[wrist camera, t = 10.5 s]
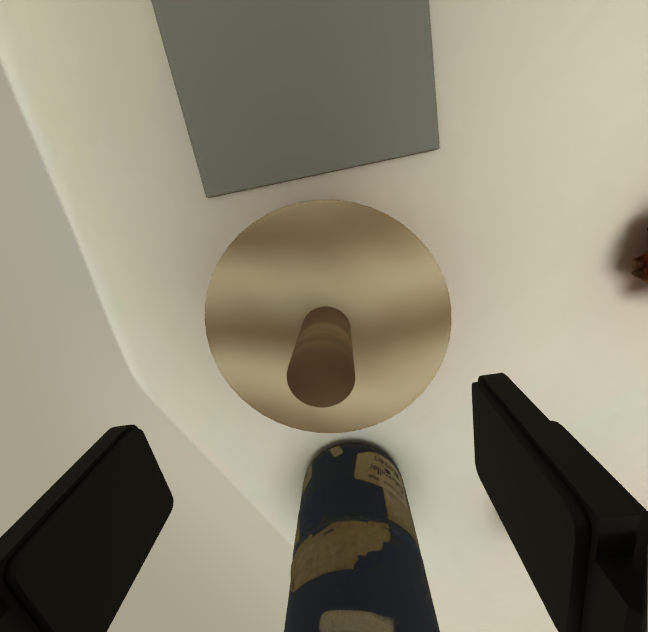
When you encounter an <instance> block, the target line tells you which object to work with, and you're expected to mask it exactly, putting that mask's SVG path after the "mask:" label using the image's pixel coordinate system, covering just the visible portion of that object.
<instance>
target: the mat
mask: <svg viewBox="0 0 648 632" xmlns="http://www.w3.org/2000/svg"><path fill="white" fill-rule="evenodd" d="M151 1H152V5H153V8H154V12H155V16H156V19H157V23H158V26H159V30H160V33H161V37H162V41H163V44H164V48H165V51H166V55H167V58H168V62H169V66H170V69H171V73H172V76H173V80H174V83H175V87H176V91H177V94H178V98H179V101H180V105H181V108H182V112H183V116H184V119H185V123H186V126H187V130H188V133H189V137H190V141H191V144H192V148H193V151H194V155H195V158H196V162H197V166H198V169H199V173H200V176H201V180H202V183H203V187H204V191H205V194H206V197H208V198H210V197H214V196H219V195H224V194H229V193H233V192H238V191H243V190H247V189H252V188H257V187H262V186H266V185H271V184H276V183H281V182H285V181H290V180H295V179H299V178H304V177H309V176H314V175H318V174H323V173H328V172H333V171H337V170H342V169H347V168H351V167H356V166H361V165H366V164H370V163H375V162H380V161H385V160H389V159H394V158H399V157H403V156H408V155H413V154H418V153H422V152H427V151H432V150H436V149H439V148H440V146H439V132H438V119H437V105H436V92H435V78H434V65H433V51H432V38H431V25H430V11H429V0H151Z"/></svg>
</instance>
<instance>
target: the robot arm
mask: <svg viewBox="0 0 648 632" xmlns="http://www.w3.org/2000/svg"><path fill="white" fill-rule="evenodd" d="M472 405H473V426H474V448H475V465H476V469H477V473H478V475H479V478H480V480H481V482H482V484H483V486H484V488H485V490H486V492H487V494H488V495H489V497H490V499H491V501H492V503H493V505H494V507H495V509H496V511H497V513H498V515H499V517H500V519H501V521H502V523H503V525H504V527H505V529H506V531H507V533H508V535H509V537H510V539H511V541H512V543H513V545H514V547H515V548H516V550H517V552H518V554H519V556H520V558H521V560H522V562H523V564H524V566H525V568H526V570H527V572H528V574H529V576H530V578H531V580H532V582H533V584H534V586H535V588H536V590H537V592H538V594H539V596H540V598H541V600H542V601H543V603H544V605H545V607H546V609H547V611H548V613H549V615H550V617H551V619H552V621H553V623H554V625H555V627H556V628H557V630H558V632H648V511H647V510H646V509H645V508H644V507H643V506H642V505H641V504H640V503H639V502H638V501H637V500H636V499H635V498H634V497H633V496H632V495H631V494H630V493H629V492H628V491H627V490H626V489H625V488H624V487H623V486H622V485H621V484H620V483H619V482H618V481H617V480H616V479H615V478H614V477H613V476H612V475H611V474H610V473H609V472H608V471H607V470H606V469H605V468H604V467H603V466H602V465H601V464H600V463H599V462H598V461H597V460H596V459H595V458H594V457H593V456H592V455H591V454H590V453H589V452H588V451H587V450H586V449H585V448H584V447H583V446H582V445H581V444H580V443H579V442H578V441H577V440H576V439H575V438H574V437H573V436H572V435H571V434H570V433H569V432H568V431H567V430H566V429H565V428H564V427H563V426H562V425H560V424H559V423H558V422H555V421H550V420H549V419H548V418H547V417H546V416H545V415H544V414H543V413H542V412H541V411H540V410H539V409H538V408H537V407H536V406H535V405H534V404H533V403H532V402H531V400H530V399H529V398H528V397H527V396H526V395H525V394H524V393H523V392H522V391H521V390H520V389H519V388H518V387H517V386H516V385H515V384H514V383H513V382H512V381H511V380H510V379H509V378H508V377H507V376H506V375H505V374H504V373H497V374H490V375H483V376H480V377H479V378H478V382H474V383H472ZM172 508H173V497H172V494H171V492H170V490H169V487H168V485H167V483H166V481H165V479H164V476H163V474H162V472H161V470H160V468H159V466H158V463H157V461H156V459H155V457H154V454H153V452H152V450H151V448H150V446H149V443H148V441H147V439H146V437H145V435H144V433H143V431H142V430H141V429H138V427H137V426H135V425H125V426H117V427H113V428H110V429H109V430H108V431H107V432H106V433H105V434H104V435H103V436H102V437H101V438H100V439H99V440H98V441H97V442H96V443H95V444H94V445H93V446H92V447H91V448H90V449H89V450H88V451H87V452H86V453H85V454H84V455H83V456H82V457H81V458H80V459H79V460H78V461H77V462H76V463H75V464H74V465H73V466H72V467H71V468H70V469H69V470H68V471H67V472H66V473H65V474H64V475H63V476H62V477H61V478H60V479H59V480H58V481H57V482H56V483H55V484H54V485H53V486H52V487H51V488H50V489H49V490H48V491H47V492H46V493H45V494H44V495H43V496H42V497H41V498H40V499H39V500H38V501H37V502H36V503H35V504H34V505H33V506H32V507H31V508H30V509H29V510H28V511H27V512H26V513H25V514H24V515H23V516H22V517H21V518H20V519H19V520H18V521H17V522H16V523H15V524H14V525H13V526H12V527H11V528H10V529H9V530H8V531H7V532H6V533H4V534H3V535H2V536H1V538H0V632H107V630H108V628H109V626H110V624H111V623H112V621H113V619H114V617H115V615H116V613H117V612H118V610H119V608H120V606H121V604H122V602H123V600H124V599H125V597H126V595H127V593H128V591H129V589H130V587H131V585H132V584H133V582H134V580H135V578H136V576H137V574H138V572H139V571H140V569H141V567H142V565H143V563H144V561H145V559H146V558H147V556H148V554H149V552H150V550H151V548H152V546H153V545H154V543H155V540H156V539H157V537H158V535H159V533H160V531H161V530H162V528H163V526H164V524H165V522H166V520H167V519H168V516H169V515H170V513H171V510H172Z"/></svg>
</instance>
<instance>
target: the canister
mask: <svg viewBox="0 0 648 632" xmlns="http://www.w3.org/2000/svg"><path fill="white" fill-rule="evenodd" d="M284 632H440V631H439V626H438V622H437V618H436V614H435V610H434V606H433V602H432V598H431V593H430V589H429V585H428V581H427V577H426V573H425V568H424V564H423V560H422V556H421V553H420V549H419V544H418V540H417V536H416V532H415V527H414V523H413V519H412V515H411V511H410V507H409V503H408V499H407V495H406V491H405V487H404V483H403V479H402V476H401V474H400V472H399V470H398V468H397V466H396V465H395V463H394V462H393V461H392V460H391V459H390V458H389V457H388V456H387V455H385V454H384V453H382V452H381V451H379V450H377V449H375V448H372V447H369V446H365V445H359V444H348V445H341V446H336V447H333V448H331V449H329V450H327V451H325V452H323V453H322V454H321V455H319V456H318V457H317V458H316V459H315V460H314V461H313V462H312V464H311V465H310V467H309V468H308V471H307V473H306V475H305V478H304V483H303V490H302V496H301V504H300V511H299V515H298V522H297V530H296V537H295V544H294V552H293V562H292V565H291V583H290V591H289V599H288V607H287V613H286V621H285V630H284Z"/></svg>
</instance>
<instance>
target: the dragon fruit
mask: <svg viewBox="0 0 648 632" xmlns="http://www.w3.org/2000/svg"><path fill="white" fill-rule="evenodd" d="M647 230H648V228H647ZM633 261H634V263H633V271H632V275H634V276H636V277H639V278H640V279H642V280H644V281H646V282H648V252H646V253H645V254H643V255H641V256H639V257H637V258H635V259H633Z"/></svg>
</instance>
